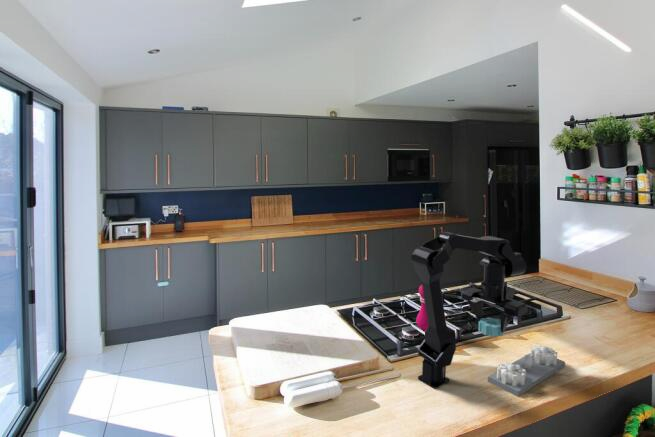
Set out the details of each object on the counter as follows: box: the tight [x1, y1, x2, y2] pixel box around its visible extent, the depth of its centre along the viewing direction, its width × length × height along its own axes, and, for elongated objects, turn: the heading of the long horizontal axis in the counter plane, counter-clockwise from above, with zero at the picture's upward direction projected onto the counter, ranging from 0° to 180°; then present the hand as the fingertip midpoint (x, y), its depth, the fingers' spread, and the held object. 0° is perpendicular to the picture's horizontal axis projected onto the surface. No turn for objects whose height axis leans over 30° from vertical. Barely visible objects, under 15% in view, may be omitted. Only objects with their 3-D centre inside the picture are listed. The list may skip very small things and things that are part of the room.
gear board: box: [487, 344, 566, 397], centre depth 118 cm, size 26×9×6 cm, turn 125°
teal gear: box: [478, 317, 505, 338], centre depth 122 cm, size 7×7×3 cm
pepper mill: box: [415, 284, 428, 331], centre depth 144 cm, size 7×7×20 cm
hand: (491, 327), depth 122 cm, fingers closed on teal gear, 7 cm apart
